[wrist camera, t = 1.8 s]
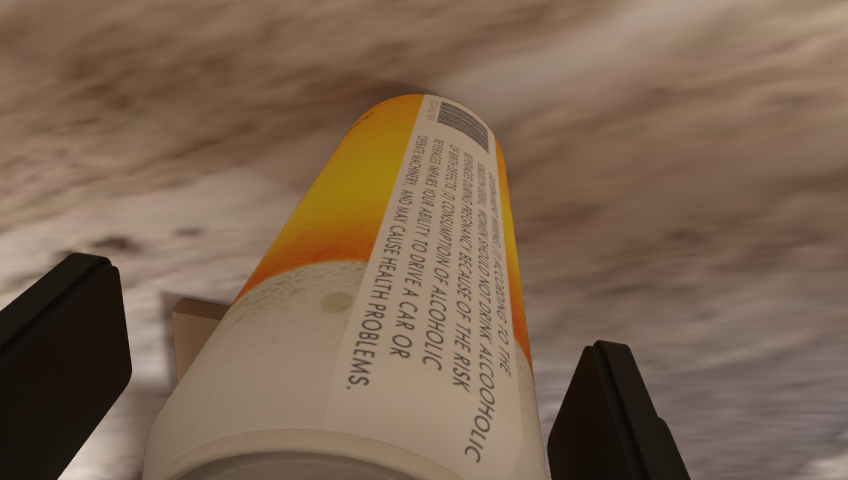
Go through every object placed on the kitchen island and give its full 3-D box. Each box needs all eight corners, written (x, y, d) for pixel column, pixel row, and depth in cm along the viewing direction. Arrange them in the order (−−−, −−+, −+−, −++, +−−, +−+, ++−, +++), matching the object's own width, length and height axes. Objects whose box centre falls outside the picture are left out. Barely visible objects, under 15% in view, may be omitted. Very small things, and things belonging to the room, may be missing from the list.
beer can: (321, 206, 21) (77, 626, 8) (374, 59, 19) (130, 343, 5) (462, 263, 22) (443, 733, 9) (534, 130, 19) (661, 534, 6)
